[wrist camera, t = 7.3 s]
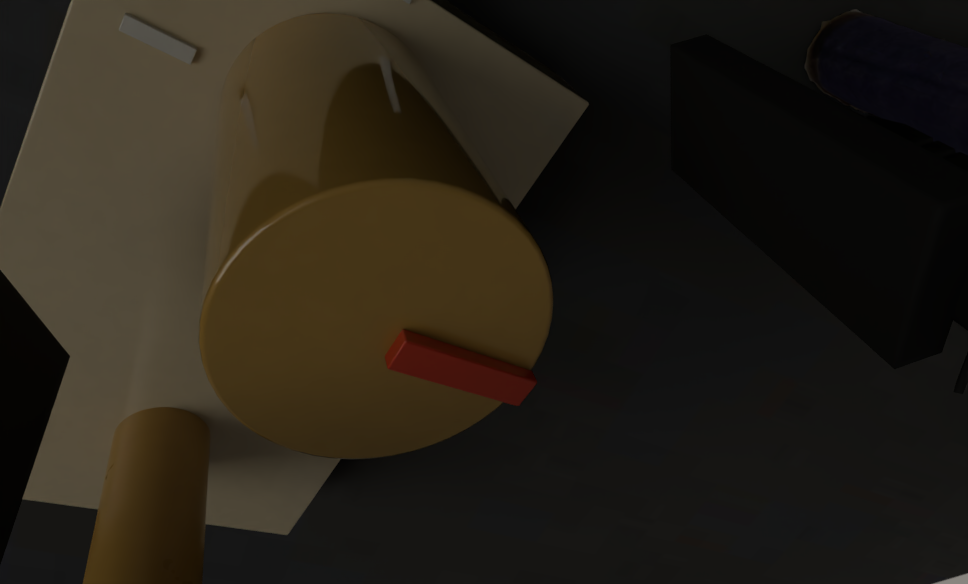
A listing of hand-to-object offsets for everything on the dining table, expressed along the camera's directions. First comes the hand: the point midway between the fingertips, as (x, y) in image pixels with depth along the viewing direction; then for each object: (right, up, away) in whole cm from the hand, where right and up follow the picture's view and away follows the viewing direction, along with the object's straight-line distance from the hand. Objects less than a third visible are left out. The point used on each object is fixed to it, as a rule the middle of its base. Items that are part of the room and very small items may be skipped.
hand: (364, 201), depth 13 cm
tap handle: (-1, +2, +3) cm, 4 cm away
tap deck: (-5, 0, +7) cm, 8 cm away
